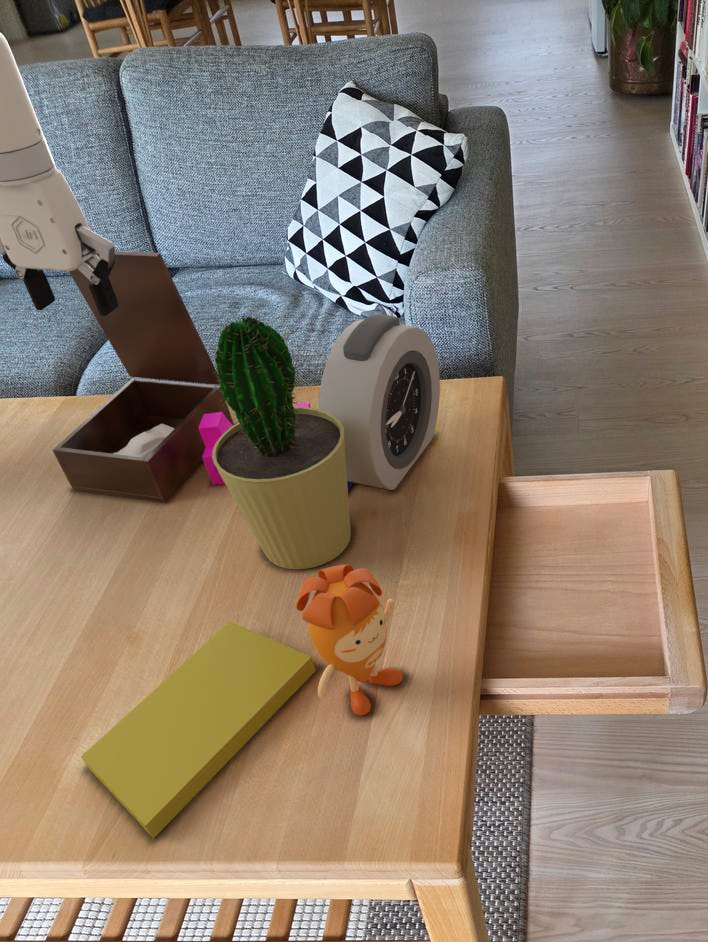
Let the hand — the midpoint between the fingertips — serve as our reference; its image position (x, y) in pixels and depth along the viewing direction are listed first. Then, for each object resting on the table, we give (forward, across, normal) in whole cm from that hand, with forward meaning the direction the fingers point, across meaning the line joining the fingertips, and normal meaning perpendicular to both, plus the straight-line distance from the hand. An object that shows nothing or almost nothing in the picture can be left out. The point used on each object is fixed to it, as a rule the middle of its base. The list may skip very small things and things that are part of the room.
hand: (77, 308), depth 110 cm
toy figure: (+23, +50, -32) cm, 63 cm away
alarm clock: (+23, +36, +8) cm, 44 cm away
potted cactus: (+23, +32, -11) cm, 41 cm away
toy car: (+23, +1, 0) cm, 23 cm away
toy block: (+23, +19, +3) cm, 30 cm away
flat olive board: (+24, +34, -42) cm, 59 cm away
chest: (+24, +1, +2) cm, 24 cm away
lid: (+6, 0, +10) cm, 12 cm away
